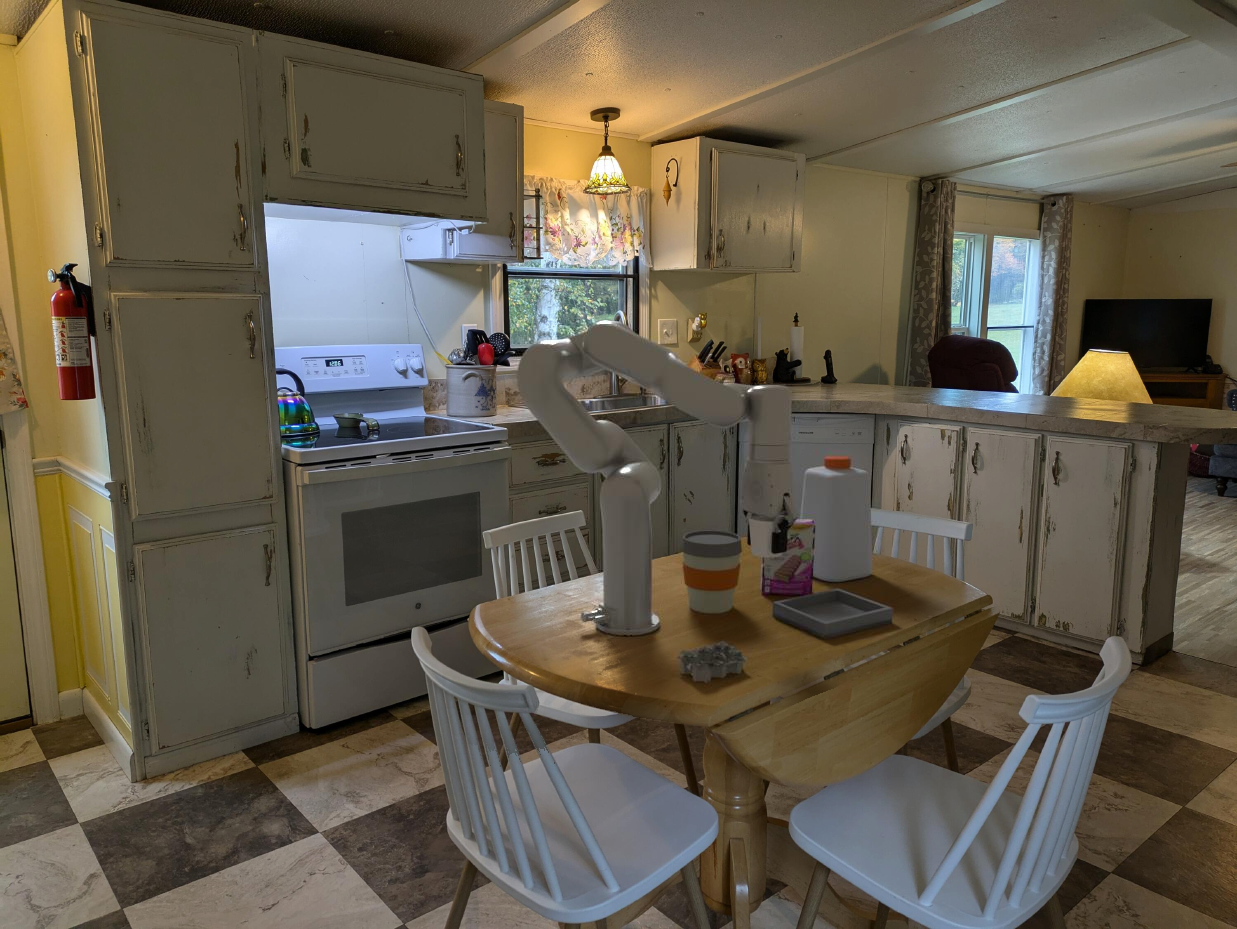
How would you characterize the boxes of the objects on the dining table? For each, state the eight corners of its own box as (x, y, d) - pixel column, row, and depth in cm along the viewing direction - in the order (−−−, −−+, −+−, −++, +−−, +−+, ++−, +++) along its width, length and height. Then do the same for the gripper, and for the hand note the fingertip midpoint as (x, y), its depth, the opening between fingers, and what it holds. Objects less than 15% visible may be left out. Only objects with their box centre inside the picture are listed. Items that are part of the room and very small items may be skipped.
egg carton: (698, 686, 139) (698, 663, 138) (673, 670, 145) (673, 648, 145) (750, 673, 144) (750, 650, 143) (724, 658, 150) (724, 636, 150)
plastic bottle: (787, 569, 205) (791, 455, 201) (835, 561, 212) (839, 451, 208) (830, 585, 192) (835, 464, 187) (879, 576, 199) (885, 459, 194)
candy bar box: (761, 595, 185) (763, 522, 182) (760, 588, 190) (761, 517, 187) (813, 597, 184) (816, 523, 181) (810, 590, 189) (813, 518, 186)
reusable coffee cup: (750, 603, 180) (752, 534, 177) (724, 620, 169) (725, 547, 167) (698, 593, 186) (699, 527, 184) (669, 609, 176) (670, 539, 174)
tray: (824, 639, 159) (825, 624, 158) (772, 616, 171) (772, 602, 171) (892, 622, 168) (892, 608, 167) (837, 601, 180) (837, 588, 180)
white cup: (791, 551, 158) (792, 515, 157) (777, 560, 152) (778, 522, 151) (757, 547, 162) (757, 511, 161) (742, 555, 156) (742, 518, 155)
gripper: (724, 448, 160) (722, 541, 163) (784, 460, 145) (781, 562, 148) (755, 446, 163) (753, 536, 166) (817, 457, 148) (814, 556, 151)
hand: (766, 547), depth 157 cm, fingers closed on white cup, 6 cm apart
